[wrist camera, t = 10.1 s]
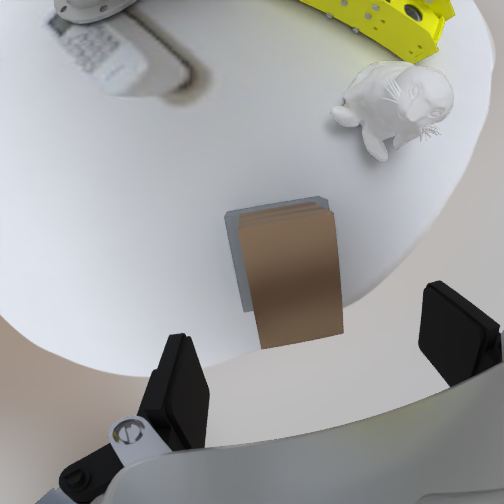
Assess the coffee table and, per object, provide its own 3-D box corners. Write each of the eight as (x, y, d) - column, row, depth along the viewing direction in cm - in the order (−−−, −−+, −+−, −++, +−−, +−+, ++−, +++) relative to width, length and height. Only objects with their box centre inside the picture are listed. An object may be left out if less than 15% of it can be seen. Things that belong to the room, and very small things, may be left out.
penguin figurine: (417, 105, 23) (501, 83, 12) (368, 166, 25) (449, 170, 13) (370, 58, 22) (438, 6, 10) (316, 117, 24) (369, 81, 12)
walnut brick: (239, 213, 23) (237, 229, 17) (311, 201, 23) (333, 212, 17) (258, 309, 25) (261, 349, 19) (323, 297, 25) (343, 333, 19)
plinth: (226, 211, 26) (224, 217, 23) (318, 196, 25) (327, 199, 23) (243, 297, 28) (243, 312, 25) (329, 282, 28) (337, 294, 25)
